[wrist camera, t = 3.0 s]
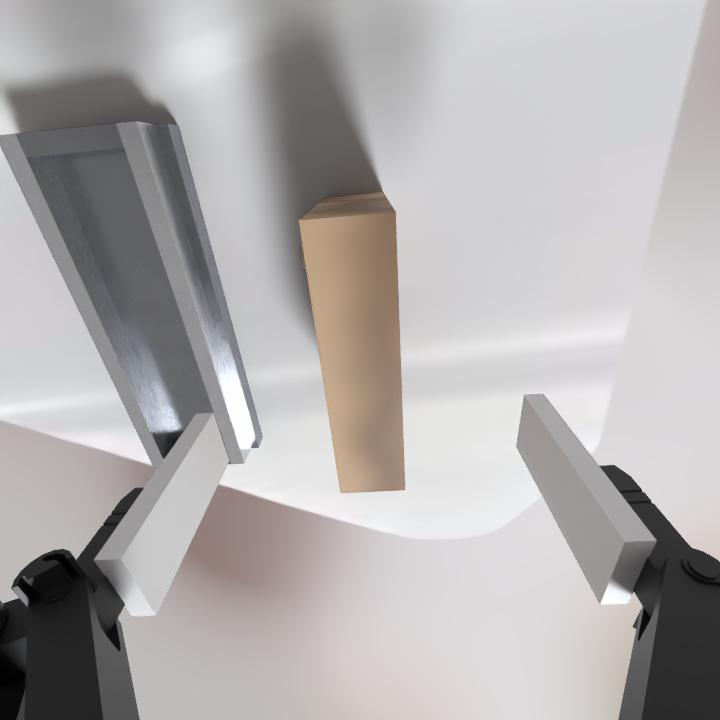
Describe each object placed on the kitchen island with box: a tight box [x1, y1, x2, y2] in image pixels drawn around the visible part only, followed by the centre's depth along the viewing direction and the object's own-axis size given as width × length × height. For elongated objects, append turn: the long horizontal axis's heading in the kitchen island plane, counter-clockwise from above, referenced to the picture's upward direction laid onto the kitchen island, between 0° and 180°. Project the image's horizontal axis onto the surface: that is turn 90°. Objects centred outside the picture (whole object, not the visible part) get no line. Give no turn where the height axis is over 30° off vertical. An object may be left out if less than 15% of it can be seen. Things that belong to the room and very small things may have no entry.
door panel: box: [299, 192, 405, 493], centre depth 24 cm, size 5×16×12 cm, turn 5°
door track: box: [0, 121, 262, 468], centre depth 28 cm, size 10×26×4 cm, turn 5°
